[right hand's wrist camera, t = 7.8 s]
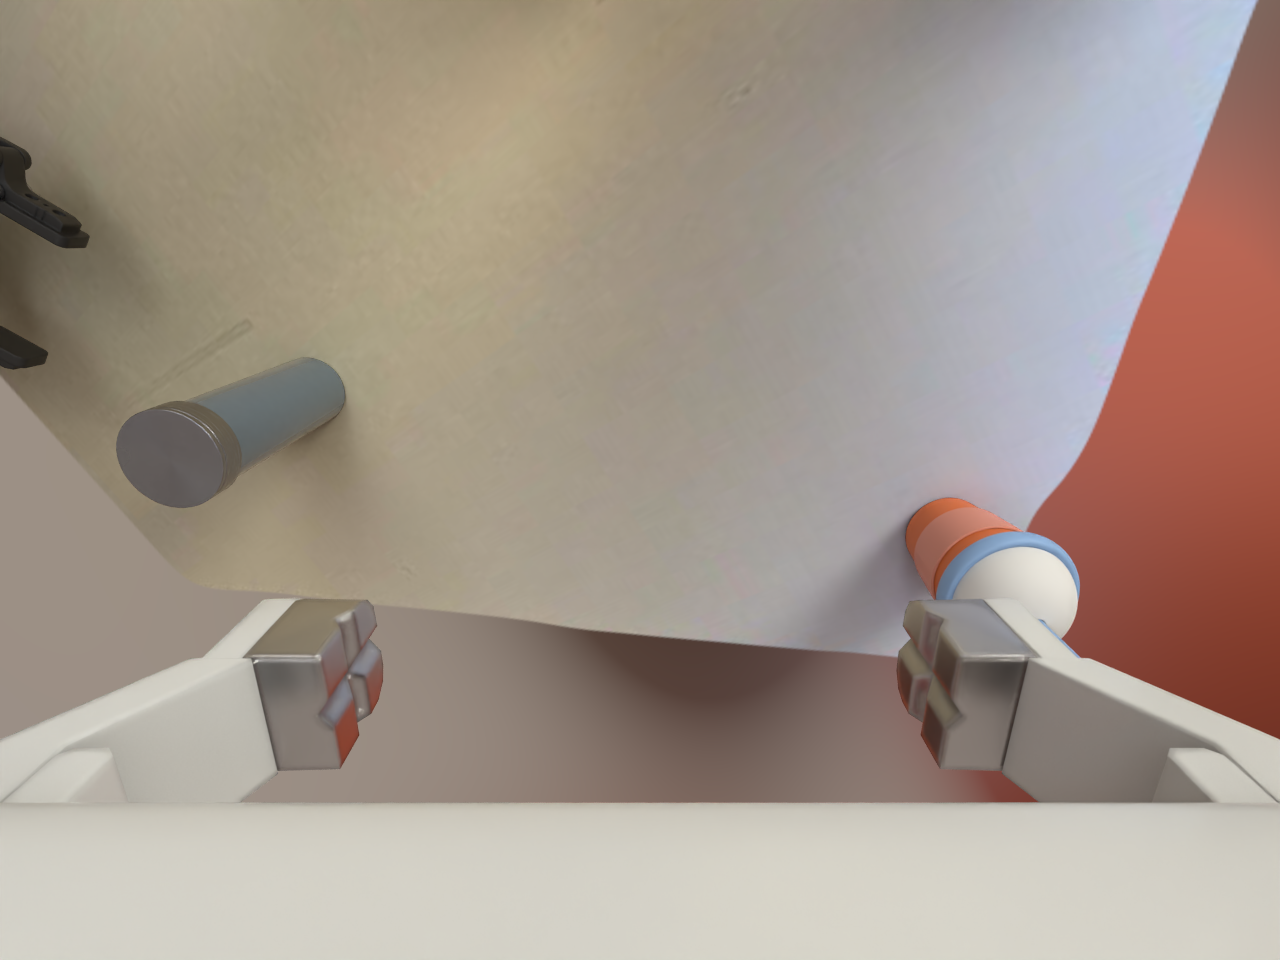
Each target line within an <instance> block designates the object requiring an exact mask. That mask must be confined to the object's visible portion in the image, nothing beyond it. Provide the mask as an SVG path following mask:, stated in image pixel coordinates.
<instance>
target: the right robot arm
mask: <svg viewBox="0 0 1280 960" xmlns="http://www.w3.org/2000/svg"><path fill="white" fill-rule="evenodd" d="M376 627H377V622H376V617H375V612H374V607H373V606H372V604H371V603H370V602H369V601H368V600H347V599H300V598H280V599H266V600H262V601H261V602H260V603H259V604H258V605H257V606H256V607H255V608H254V609H253V610H252V611H251V612H250V613H249V614H248V615H246V616H245V617H244V618H243V619H242V620H241V621H240V622H239V623H238V624H237V625H236V626H235V627H234V628H233V629H232V630H231V631H230V632H229V633H228V634H227V635H226V636H225V637H224V638H223V639H221V640H220V641H219V642H218V643H217V644H216V645H215V646H214V647H213V648H212V649H211V650H210V651H209V652H208V653H207V654H206V655H205V656H204V657H203V658H190V659H188V660H186V661H183V662H181V663H179V664H176V665H174V666H172V667H169V668H167V669H165V670H162V671H160V672H158V673H155V674H153V675H151V676H148V677H146V678H143V679H141V680H139V681H136V682H134V683H132V684H129V685H127V686H125V687H122V688H120V689H118V690H115V691H113V692H111V693H108V694H106V695H103V696H101V697H99V698H97V699H94V700H92V701H89V702H87V703H85V704H82V705H80V706H78V707H75V708H73V709H71V710H68V711H66V712H64V713H61V714H59V715H57V716H54V717H52V718H49V719H47V720H45V721H42V722H40V723H38V724H35V725H33V726H31V727H28V728H26V729H24V730H21V731H19V732H17V733H14V734H12V735H10V736H7V737H5V738H2V739H0V960H1280V740H1279V739H1277V738H1275V737H1272V736H1270V735H1268V734H1265V733H1263V732H1261V731H1258V730H1256V729H1254V728H1251V727H1249V726H1247V725H1244V724H1242V723H1240V722H1237V721H1235V720H1232V719H1230V718H1228V717H1225V716H1223V715H1221V714H1218V713H1216V712H1214V711H1211V710H1209V709H1207V708H1204V707H1202V706H1200V705H1197V704H1195V703H1193V702H1190V701H1188V700H1186V699H1183V698H1181V697H1179V696H1176V695H1174V694H1172V693H1169V692H1167V691H1164V690H1162V689H1160V688H1158V687H1155V686H1153V685H1151V684H1148V683H1146V682H1143V681H1141V680H1139V679H1136V678H1134V677H1132V676H1129V675H1127V674H1125V673H1122V672H1120V671H1118V670H1115V669H1113V668H1111V667H1108V666H1106V665H1104V664H1101V663H1099V662H1097V661H1094V660H1092V659H1089V658H1077V657H1076V656H1075V655H1074V654H1073V653H1072V652H1071V651H1070V650H1069V649H1068V648H1067V647H1066V646H1065V645H1064V644H1063V643H1062V642H1061V641H1060V640H1059V639H1058V638H1057V637H1056V636H1054V635H1053V634H1052V633H1051V632H1050V631H1049V630H1048V629H1047V628H1046V627H1045V626H1044V625H1043V624H1042V623H1041V622H1040V621H1039V620H1038V619H1037V618H1036V617H1035V616H1034V615H1033V614H1032V613H1031V612H1030V611H1029V610H1027V609H1026V608H1025V607H1024V606H1023V605H1022V604H1021V603H1020V602H1019V601H1018V600H1015V599H1012V598H994V599H953V600H917V601H910V602H909V604H908V606H907V608H906V611H905V616H904V622H903V627H904V628H905V630H906V631H907V633H908V634H909V636H910V638H911V639H910V640H909V641H908V642H907V643H906V644H905V645H904V646H903V647H902V648H901V649H900V650H899V654H898V663H897V680H898V689H899V692H900V695H901V699H902V702H903V704H904V706H905V707H906V709H907V711H908V713H909V714H910V715H912V716H913V717H915V718H916V719H918V720H919V721H921V722H923V725H922V731H921V736H922V738H923V740H924V742H925V743H926V745H927V747H928V749H929V750H930V752H931V754H932V756H933V757H934V759H935V761H936V763H937V765H938V766H939V768H940V769H956V770H993V771H1002V774H1003V775H1004V776H1006V777H1007V778H1009V779H1010V780H1011V781H1012V782H1014V783H1015V784H1016V785H1017V786H1019V787H1020V788H1021V789H1023V790H1024V791H1025V792H1027V793H1028V794H1029V795H1031V796H1032V797H1033V798H1035V799H1036V800H1037V801H1038V802H1040V803H241V802H242V801H243V800H244V799H246V798H247V797H248V796H250V795H251V794H252V793H254V792H255V791H256V790H258V789H259V788H260V787H261V786H263V785H264V784H265V783H267V782H268V781H269V780H270V779H272V778H273V777H274V776H276V775H277V774H278V771H287V770H322V769H340V768H341V766H342V765H343V763H344V761H345V759H346V758H347V756H348V754H349V752H350V751H351V749H352V747H353V745H354V743H355V742H356V740H357V738H358V736H359V731H358V725H357V722H359V721H360V720H362V719H364V718H365V717H367V716H368V715H370V714H371V713H372V711H373V709H374V707H375V705H376V704H377V702H378V699H379V695H380V691H381V687H382V682H383V661H382V654H381V651H380V649H379V648H378V647H377V646H376V645H375V644H374V643H373V642H372V641H371V640H370V639H369V637H370V636H371V634H372V633H373V631H374V630H375V628H376Z"/></svg>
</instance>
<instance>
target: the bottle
mask: <svg viewBox="0 0 1280 960" xmlns="http://www.w3.org/2000/svg"><path fill="white" fill-rule="evenodd" d="M344 399H345V391H344V387H343V383H342V381H341V379H340V377H339V376H338V374H337V373H336V372H335V371H334V370H333V369H332V368H331V367H330V366H329V365H327V364H326V363H324V362H322V361H320V360H317V359H314V358H298V359H295V360H292V361H289V362H287V363H284V364H281V365H279V366H276V367H273V368H271V369H268V370H265V371H263V372H260V373H257V374H255V375H252V376H249V377H247V378H244V379H241V380H239V381H236V382H233V383H231V384H228V385H225V386H223V387H220V388H217V389H215V390H212V391H209V392H207V393H204V394H201V395H199V396H196V397H194V398H191V399H188V400H186V402H192V403H196V404H199V405H202V406H204V407H206V408H208V409H210V410H212V411H213V412H215V413H216V414H218V415H219V416H220V417H221V418H222V419H223V420H224V421H225V422H226V423H227V424H228V425H229V426H230V427H231V429H232V430H233V432H234V433H235V435H236V437H237V439H238V441H239V444H240V448H241V452H242V465H241V469H240V472H239V475H241V474H243V473H244V472H246V471H248V470H249V469H251V468H252V467H254V466H256V465H257V464H259V463H261V462H262V461H264V460H266V459H267V458H269V457H270V456H272V455H274V454H275V453H277V452H279V451H280V450H282V449H283V448H285V447H287V446H288V445H290V444H292V443H293V442H295V441H296V440H298V439H300V438H301V437H303V436H305V435H306V434H308V433H310V432H311V431H313V430H314V429H316V428H318V427H319V426H321V425H323V424H324V423H326V422H327V421H329V420H331V419H332V418H334V417H335V416H336V415H337V414H338V413H339V412H340V411H341V409H342V407H343V404H344ZM239 475H238V476H239Z"/></svg>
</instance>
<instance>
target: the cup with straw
mask: <svg viewBox="0 0 1280 960" xmlns="http://www.w3.org/2000/svg"><path fill="white" fill-rule="evenodd" d="M906 545H907V548H908V551H909V553H910V555H911V556H912V558H913V560H914V562H915V566H916V569H917V571H918V573H919V575H920V577H921V578H922V580H923V582H924V584H925V585H926V587H927V589H928V590H929V592H930V594H931V596H932V597H933V599H934V600H953V599H994V598H1012V599H1015V600H1018V601H1019V602H1020V603H1021V604H1022V605H1023V606H1024V607H1025V608H1026V609H1027V610H1029V611H1030V612H1031V613H1032V614H1033V615H1034V616H1035V617H1036V618H1037V619H1038V620H1039V621H1040V622H1041V623H1042V624H1043V625H1044V626H1045V627H1046V628H1047V629H1048V630H1049V631H1050V632H1051V633H1052V634H1053V635H1054V636H1056V637H1057V638H1058V639H1059V640H1060V641H1061V642H1062V643H1063V644H1064V645H1065V646H1066V647H1067V648H1068V649H1069V650H1070V651H1071V652H1072V653H1073V654H1074V655H1075V656H1076V657H1077V658H1080V657H1079V656H1078V655H1077V654H1076V653H1075V652H1074V651H1073V650H1072V649H1071V648H1070V647H1069V646H1068V645H1067V644H1066V643H1065V642H1064V641H1063V640H1062V639H1061V638H1062V637H1063V636H1064V635H1065V634H1066V633H1067V631H1068V630H1069V628H1070V627H1071V625H1072V623H1073V621H1074V618H1075V615H1076V611H1077V603H1078V598H1079V591H1080V583H1079V576H1078V573H1077V570H1076V567H1075V565H1074V563H1073V561H1072V560H1071V558H1070V557H1069V555H1068V554H1067V553H1066V552H1065V551H1064V550H1063V549H1062V548H1061V547H1060V546H1059V545H1057V544H1056V543H1055V542H1053V541H1051V540H1049V539H1048V538H1045V537H1043V536H1040V535H1037V534H1034V533H1029V532H1023V531H1022V530H1020V529H1018V528H1017V527H1015V526H1013V525H1012V524H1010V523H1008V522H1006V521H1005V520H1003V519H1001V518H1000V517H998V516H996V515H994V514H993V513H991V512H989V511H986V510H984V509H980V508H978V507H976V506H974V505H972V504H971V503H969V502H967V501H964V500H961V499H957V498H943V499H938V500H935V501H932V502H930V503H928V504H926V505H925V506H923V507H922V508H921V509H920V510H918V511H917V512H916V514H915V515H914V516H913V517H912V519H911V520H910V522H909V524H908V527H907V530H906Z"/></svg>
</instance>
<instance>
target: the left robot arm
mask: <svg viewBox="0 0 1280 960" xmlns="http://www.w3.org/2000/svg"><path fill="white" fill-rule="evenodd" d="M31 163H32V162H31V157H30V155H29V154H28V153H27V151H25V150H24V149H22V148H20V147H18V146H17V145H15V144H13V143H11V142H9V141H7V140H5V139H4V138H2V137H0V213H1V214H3V215H5V216H7V217H8V218H10V219H12V220H13V221H15V222H17V223H19V224H20V225H22V226H24V227H26V228H27V229H29V230H31V231H32V232H34V233H36V234H38V235H39V236H41V237H43V238H44V239H46V240H48V241H50V242H51V243H53V244H55V245H57V246H60V247H63V248H86V246H87V243H88V240H89V238H90V236H89V235H88V234H87V233H85V232H83V231H82V230H80V228H81V224H80V222H79V221H78V220H77V219H76V218H75V217H74V216H72V215H70V214H69V213H67V212H65V211H64V210H62V209H60V208H58V207H57V206H55V205H54V204H52V203H50V202H48V201H47V200H45V199H43V198H42V197H40V196H38V195H37V194H35V193H34V192H33V191H32V189H31V188H30V187H29V186H28V185H27V183H26V179H25V170H27V169H29V168H30V166H31ZM47 355H48V352H47V351H46V350H44V349H42V348H40V347H38V346H37V345H35V344H33V343H31V342H29V341H27V340H26V339H24V338H22V337H20V336H18V335H17V334H15V333H13V332H11V331H9V330H7V329H6V328H4V327H2V326H0V366H2V367H4V368H8V369H18V368H28V367H32V366H37V365H41V364H44V363H45V361H46V358H47Z"/></svg>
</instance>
